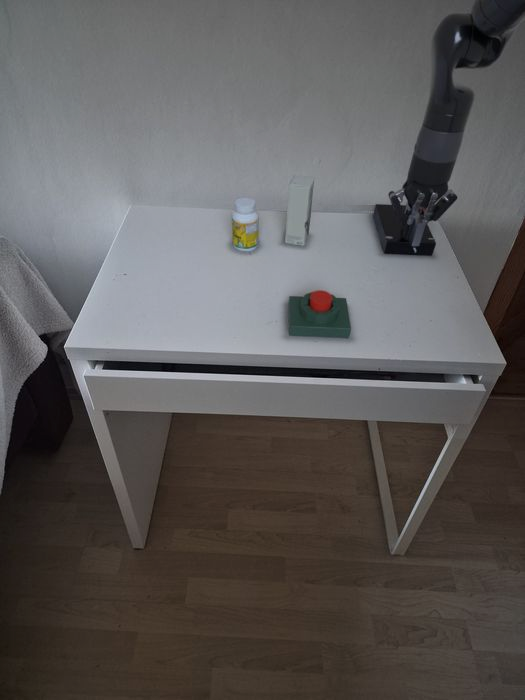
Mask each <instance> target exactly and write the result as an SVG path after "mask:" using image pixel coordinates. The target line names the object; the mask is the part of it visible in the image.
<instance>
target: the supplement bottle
mask: <svg viewBox="0 0 525 700" xmlns="http://www.w3.org/2000/svg"><path fill="white" fill-rule="evenodd" d="M234 209H235V210H233V212H232V213H231V228H232V229H231V230H232V231H231V232H232V233H231V235H232V245H233V248H234V249H236V250H237V251H240V252H252V251H254V250H256V249H257V248H258V247H259V231H260V230H259V226H260V225H259V223H260V222H259V221H260V220H259V219H260V216H259V213H258V211H257V210H256V201H255V200H254V199H253V198H250V197H240V198H237V199H236V200H235V201H234Z"/></svg>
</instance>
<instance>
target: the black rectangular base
mask: <svg viewBox="0 0 525 700" xmlns="http://www.w3.org/2000/svg"><path fill="white" fill-rule="evenodd" d="M401 207H402V210H403V213H405V210H406V204H401ZM373 209H374V210H373V214H372V218H373V221H374V225H375V228H376V231H377V234H378V235H377V236H378V238H379V241H380V245H381V249H382V252H383V255H398V256H401V255H402V256H425V257H432V256H433V254H434V251H435V249H436V246H437V242H436V238H435V237H434V235H433V233H432V231H431V229H430V227H429V223H428V224H427V225H426V228H425V231H424V234H423V236H422V238H421V241H420V245H419V246H411V245H410V243H409V241H404V239H403V238H402V236H401V234H400V231H401V227H402V224H403V222H400V221H399V220H398V218H397V216H396V215H395V212H394V209H393V206H392V204H387V203H385V204H384V203H375V205H374V208H373ZM420 209H421V207H420V208H419V211H418V213H420Z"/></svg>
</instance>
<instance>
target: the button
mask: <svg viewBox="0 0 525 700" xmlns="http://www.w3.org/2000/svg"><path fill="white" fill-rule="evenodd" d="M312 292H313V293H312V294H311V296H310V303H309V305H310V307H311V309H313V310H316V311H321V312H325V311H328V310H329V309H330V308H331V303H332V296H331V295H332V294H331V293H330V292H328V291H325V290H322V289H321V290H320V289H319V290H314V291H312Z"/></svg>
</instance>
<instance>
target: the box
mask: <svg viewBox="0 0 525 700" xmlns="http://www.w3.org/2000/svg"><path fill="white" fill-rule="evenodd" d="M314 185H315V177H311V176H303V175H297V174H294V175H293V176H292V178H291V179H290V182H289V184H288V192H287V203H286V204H287V206H286V219H285V220H286V222H285V235H284V244H288V245H295V246H302V247H304V246H305V245H306V243H307V240H308V238H309V233H310V225H311V224H310V223H311V216H312V206H313V205H312V204H313V197H314V196H313V194H314Z"/></svg>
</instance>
